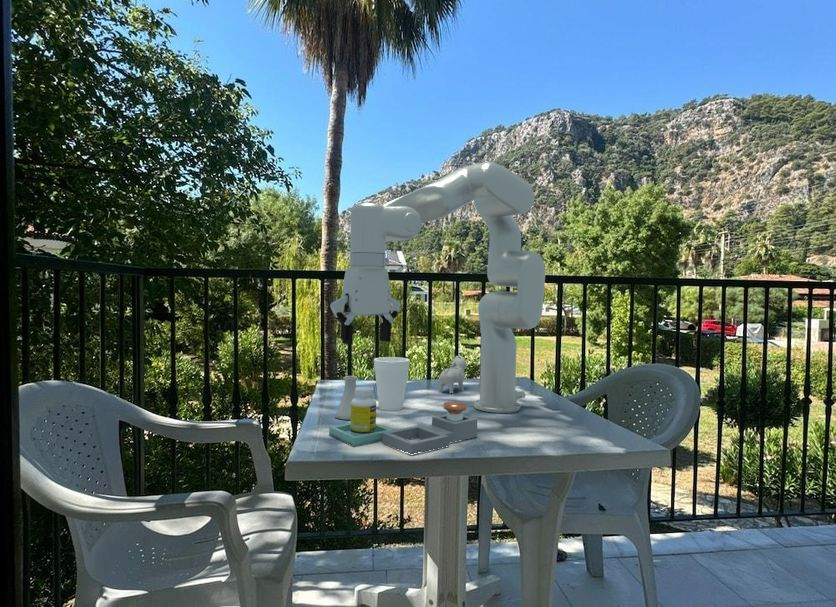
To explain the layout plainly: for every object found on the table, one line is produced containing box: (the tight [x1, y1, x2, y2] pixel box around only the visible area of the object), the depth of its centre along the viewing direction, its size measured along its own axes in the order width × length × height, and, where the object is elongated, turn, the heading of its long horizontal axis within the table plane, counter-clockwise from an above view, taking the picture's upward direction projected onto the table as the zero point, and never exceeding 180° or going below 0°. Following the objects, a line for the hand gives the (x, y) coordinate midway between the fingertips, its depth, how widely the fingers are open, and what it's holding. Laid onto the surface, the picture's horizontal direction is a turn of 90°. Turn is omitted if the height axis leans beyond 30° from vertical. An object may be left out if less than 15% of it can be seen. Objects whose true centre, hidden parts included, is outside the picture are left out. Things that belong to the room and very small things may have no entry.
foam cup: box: [373, 356, 410, 412], centre depth 139 cm, size 10×9×13 cm
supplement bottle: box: [350, 386, 377, 436], centre depth 112 cm, size 5×5×10 cm
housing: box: [381, 413, 478, 454], centre depth 110 cm, size 19×10×4 cm, turn 129°
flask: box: [334, 375, 358, 421], centre depth 129 cm, size 7×7×10 cm
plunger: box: [443, 400, 467, 422], centre depth 114 cm, size 5×5×7 cm
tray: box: [328, 422, 394, 447], centre depth 112 cm, size 10×10×2 cm
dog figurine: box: [438, 355, 468, 393], centre depth 164 cm, size 5×13×11 cm, turn 147°
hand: (366, 342), depth 112 cm, fingers open, 9 cm apart
